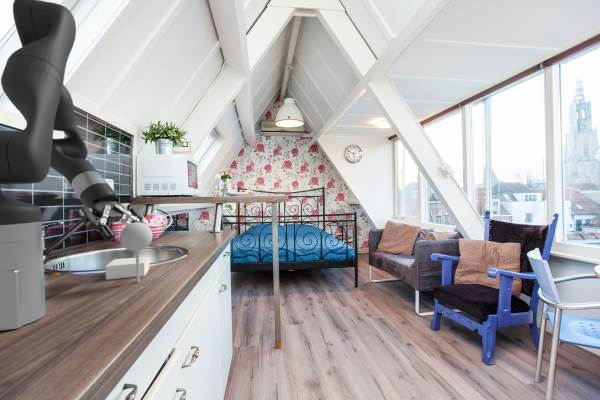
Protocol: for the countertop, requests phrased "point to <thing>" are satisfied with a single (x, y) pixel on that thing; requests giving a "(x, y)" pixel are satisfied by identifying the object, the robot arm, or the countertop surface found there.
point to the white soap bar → (126, 268)
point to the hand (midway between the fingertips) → (128, 236)
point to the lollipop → (136, 240)
